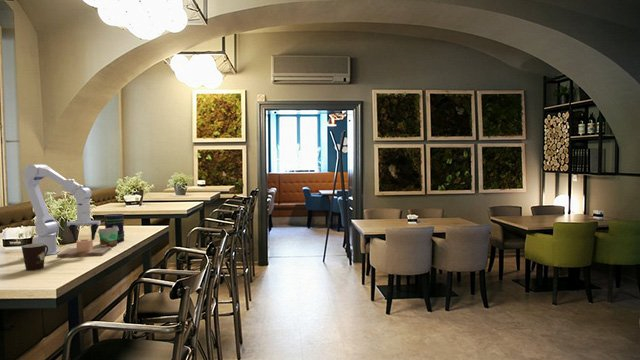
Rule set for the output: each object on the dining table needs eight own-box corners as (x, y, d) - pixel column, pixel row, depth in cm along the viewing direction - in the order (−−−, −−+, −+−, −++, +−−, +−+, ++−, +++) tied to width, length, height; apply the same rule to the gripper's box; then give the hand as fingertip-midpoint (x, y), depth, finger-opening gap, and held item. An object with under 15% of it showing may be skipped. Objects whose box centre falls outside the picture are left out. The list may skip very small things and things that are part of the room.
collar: (76, 251, 215) (76, 241, 215) (80, 249, 220) (80, 239, 220) (89, 251, 216) (89, 241, 216) (92, 248, 221) (92, 238, 221)
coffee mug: (29, 272, 183) (27, 248, 182) (18, 269, 187) (17, 246, 187) (58, 266, 193) (57, 243, 192) (47, 263, 197) (46, 241, 197)
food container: (109, 248, 229) (108, 229, 228) (98, 248, 230) (97, 229, 230) (124, 244, 241) (123, 225, 240) (114, 243, 242) (113, 225, 242)
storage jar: (128, 240, 253) (127, 213, 252) (116, 243, 243) (115, 216, 242) (113, 239, 255) (112, 213, 254) (101, 242, 245) (99, 215, 245)
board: (57, 257, 210) (57, 254, 210) (68, 251, 224) (68, 248, 223) (102, 255, 213) (102, 252, 213) (111, 249, 227) (110, 246, 227)
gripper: (64, 213, 212) (65, 242, 213) (97, 213, 215) (98, 241, 215) (69, 212, 219) (70, 239, 220) (101, 211, 222) (102, 238, 222)
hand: (84, 240), depth 218 cm, fingers open, 7 cm apart
